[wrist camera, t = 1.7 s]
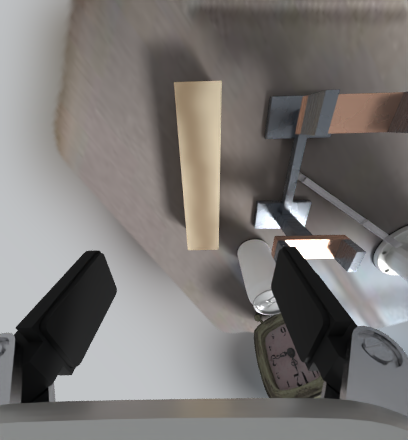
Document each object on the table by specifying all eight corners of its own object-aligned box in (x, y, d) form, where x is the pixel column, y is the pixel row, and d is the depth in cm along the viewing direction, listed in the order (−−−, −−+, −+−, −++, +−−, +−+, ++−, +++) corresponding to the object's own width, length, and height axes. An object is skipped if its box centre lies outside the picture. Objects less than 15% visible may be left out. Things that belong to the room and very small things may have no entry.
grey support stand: (337, 95, 24) (462, 68, 12) (301, 224, 33) (352, 277, 22) (269, 97, 24) (330, 72, 12) (253, 225, 33) (279, 278, 22)
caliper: (374, 227, 34) (408, 247, 28) (369, 231, 34) (401, 252, 29) (297, 171, 29) (320, 182, 23) (292, 176, 29) (313, 189, 24)
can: (230, 250, 36) (241, 302, 26) (256, 232, 34) (280, 280, 23) (249, 267, 38) (266, 322, 28) (274, 251, 36) (303, 304, 26)
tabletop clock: (294, 286, 41) (398, 473, 19) (314, 304, 44) (425, 483, 22) (246, 314, 46) (285, 488, 24) (267, 328, 49) (319, 494, 27)
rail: (217, 90, 24) (221, 80, 18) (216, 230, 34) (218, 249, 29) (180, 91, 24) (173, 82, 18) (190, 230, 34) (187, 250, 29)
